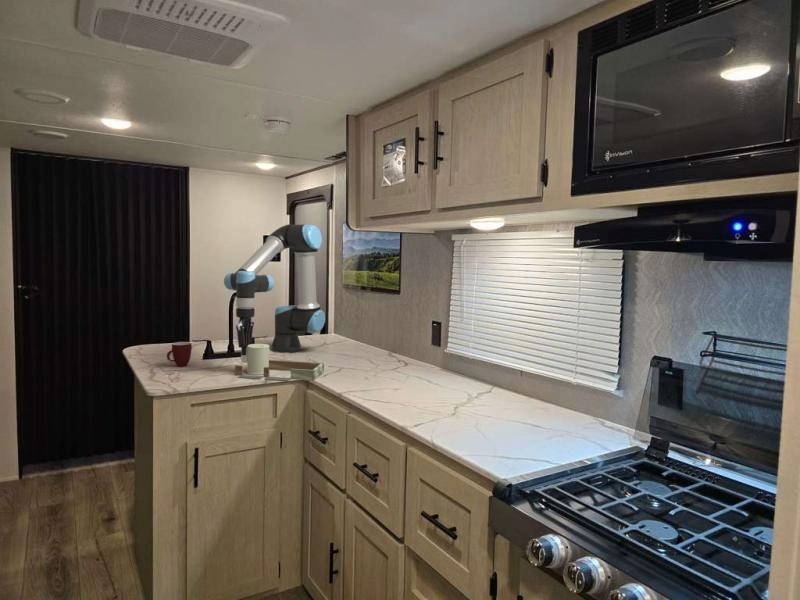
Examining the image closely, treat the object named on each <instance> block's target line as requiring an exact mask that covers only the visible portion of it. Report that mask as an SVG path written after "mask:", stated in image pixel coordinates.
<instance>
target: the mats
mask: <svg viewBox="0 0 800 600" xmlns="http://www.w3.org/2000/svg"><path fill="white" fill-rule="evenodd" d="M237 378H238V379H248V380H249V379H250V380H251V379H252V380H261V379H263V378H264V381H279V382H288V381H290V380H291V377H280V376H279V377H278V376H269V377H264V375H263V376H262V375H252V374H249V375H248V374H243V375H241V376H240V375H238V377H237Z"/></svg>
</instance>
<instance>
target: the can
mask: <svg viewBox="0 0 800 600" xmlns="http://www.w3.org/2000/svg"><path fill="white" fill-rule="evenodd" d="M247 347H248V358H247V365H246V366H247V367H246V373H247V375H248V374H249V375H251V376H262V375H264V367H269V360H270V344H267V343H251V344H250V345H248V346H247Z"/></svg>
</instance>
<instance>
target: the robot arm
mask: <svg viewBox="0 0 800 600" xmlns="http://www.w3.org/2000/svg"><path fill="white" fill-rule="evenodd" d="M322 243H323V237H322V233H321V230H320V229H319V228H318V227H317V226H316V225H313V224H285V225H283V226H280V227H278V228H277V229H275V230H274V231H273V232H272V233H271V234H269V235H268V236H267V238H266V239H265V242H264V243H263V244H262V245H261V246H260V248H258V249H257V250H256V251H255V253H253V255H251V256H250V257H249V259H247V260H246V261H245V262H244V263H243V264H242V265H241V266H240V267H239V268H238V269H237V270H236V271H235V272H230V273H227V274H226V275H225V276H224V280H223V285H224V287H225V288H226V289H227V290H230V291H235V293H236V294H235V295H236V297H235V307H236V308H235V317H236V318H239V319H238V325H236V326H235V329H236V332H237V341H238V348H241V349H240V357H241V358H240V362H241V363H244V364H246V363H247V358H248V347H247V346H248V345H250V344H252V340H253V339H252V338H253V332H254V331H253V329H254V325H255V322H254V321H252V318H254V317H255V312H256V311H255V306H256V304H255V303H256V301H255V300H256V299H255V296H256V295H255V293H267V292H270V291H271V290H273V289H274V287H275V281H274V279H273V277H272V276H271V275H269V274H259V273H260V272H261V271H262V270H263V269H264V268H265V267H266V266H267V265H268V264H269V262H270V261H272V259H273V258H275V256H276V255H277V254H278V253H282V252H283V251H284V250H285V249H293V253H294V254H295V255H296V259H297V260H296V261H297V263H296V264H297V279H298V282H297V283H298V296H299V298H298V299H299V302H298V305H297V304H295V305H294V304H293V305H283V306H278V307H275V310H274V311H275V312H274V337H273V339H272V343H271V347H270V349H271V351H272V352H274V353H282V354H283V353H287V354H288V353H296V352H299V351H301V350H302V344H301V341H300V338H299V334H298V333H299V332H300V333H301V332H302V333H309V334H317V333H319V332H321V331H322V329H323V327H324V326H325V322H326V314H325V312H324V311H323V310H322V309H321V305H320V304H319V303H318V302H317V279H316V278H317V277H316V274H317V273H316V259H315V258H316V255H317V253H318V252H319V251H318V249H319V248H321V247H322ZM242 317H243V319H242ZM244 318H245V319H244Z"/></svg>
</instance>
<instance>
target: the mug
mask: <svg viewBox="0 0 800 600" xmlns="http://www.w3.org/2000/svg"><path fill="white" fill-rule="evenodd" d="M192 345H193V344H192V342H189V341H177V342H172V343H171V350H169V351H168V352H167V353H166V358H167V361H170V362H174V363H175V365H176V367H179V368H182V367H187V366H188V364H189V362H190V360H191V354H192V349H193V348H192V347H193V346H192ZM171 354H172V357H173V359H171V357H170V355H171Z"/></svg>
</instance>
